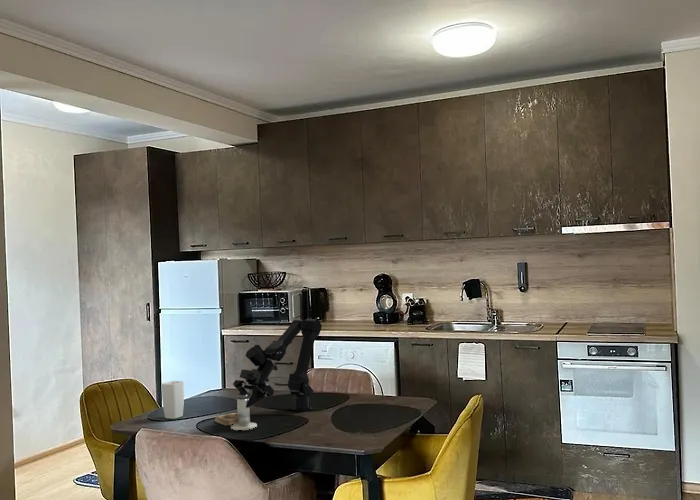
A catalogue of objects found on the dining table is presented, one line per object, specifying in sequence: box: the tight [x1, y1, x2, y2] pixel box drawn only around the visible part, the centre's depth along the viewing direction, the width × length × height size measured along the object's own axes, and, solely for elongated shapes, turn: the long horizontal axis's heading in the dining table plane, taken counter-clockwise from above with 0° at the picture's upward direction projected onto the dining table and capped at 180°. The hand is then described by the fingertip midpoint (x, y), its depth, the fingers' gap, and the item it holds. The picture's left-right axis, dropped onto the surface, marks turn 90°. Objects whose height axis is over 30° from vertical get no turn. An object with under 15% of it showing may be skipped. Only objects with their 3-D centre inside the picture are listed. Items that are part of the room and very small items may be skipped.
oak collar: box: [214, 411, 238, 427], centre depth 260 cm, size 10×10×2 cm
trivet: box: [230, 421, 258, 431], centre depth 250 cm, size 10×10×1 cm
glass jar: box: [236, 393, 251, 425], centre depth 250 cm, size 5×5×11 cm
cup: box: [161, 380, 185, 420], centre depth 270 cm, size 7×7×15 cm
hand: (242, 406), depth 250 cm, fingers closed on glass jar, 4 cm apart
